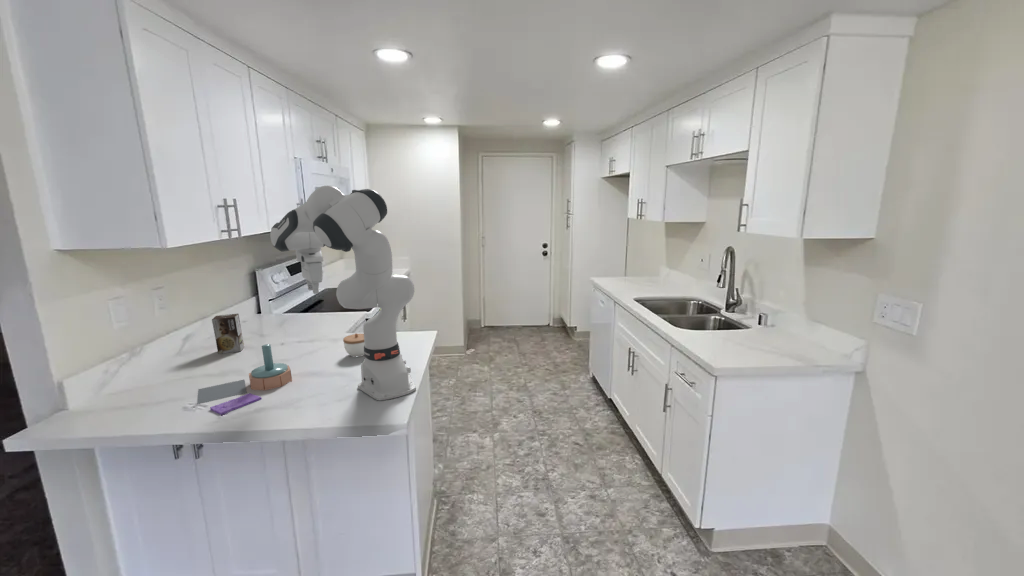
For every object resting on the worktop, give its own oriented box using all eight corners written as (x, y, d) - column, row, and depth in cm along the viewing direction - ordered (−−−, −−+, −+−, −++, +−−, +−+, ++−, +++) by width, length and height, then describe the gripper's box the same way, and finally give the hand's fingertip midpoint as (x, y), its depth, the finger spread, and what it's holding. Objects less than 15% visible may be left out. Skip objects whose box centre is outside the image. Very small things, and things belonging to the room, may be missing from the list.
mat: (246, 394, 150) (246, 392, 150) (197, 405, 142) (197, 404, 142) (244, 380, 161) (244, 379, 161) (198, 390, 154) (198, 389, 154)
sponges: (210, 412, 138) (209, 407, 138) (251, 397, 149) (250, 392, 148) (221, 418, 135) (220, 412, 134) (262, 401, 145) (261, 396, 145)
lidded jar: (363, 359, 180) (360, 338, 178) (339, 358, 182) (337, 337, 180) (376, 350, 190) (374, 330, 188) (353, 349, 192) (351, 329, 190)
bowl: (293, 384, 157) (292, 373, 156) (252, 394, 150) (250, 382, 149) (288, 373, 167) (287, 362, 166) (249, 381, 160) (247, 370, 159)
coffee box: (244, 347, 199) (239, 313, 196) (241, 351, 193) (235, 316, 190) (221, 349, 196) (216, 315, 193) (217, 354, 190) (211, 318, 187)
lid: (289, 372, 156) (286, 346, 154) (252, 381, 150) (248, 353, 148) (285, 363, 165) (282, 338, 163) (250, 370, 159) (246, 344, 157)
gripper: (295, 254, 171) (299, 289, 174) (305, 258, 154) (309, 296, 157) (312, 253, 175) (316, 287, 177) (324, 257, 158) (328, 294, 160)
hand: (313, 291), depth 167 cm, fingers open, 8 cm apart
